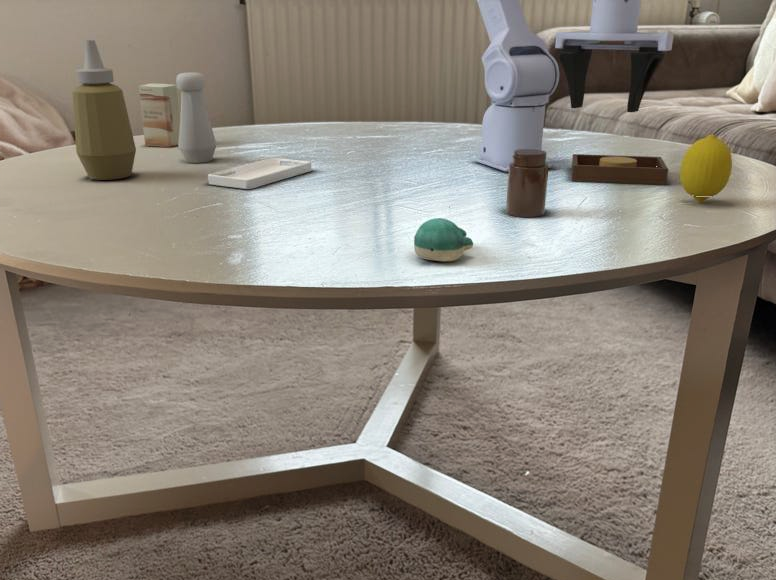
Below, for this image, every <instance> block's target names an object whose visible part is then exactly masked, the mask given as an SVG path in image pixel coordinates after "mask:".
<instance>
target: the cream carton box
mask: <svg viewBox="0 0 776 580" xmlns="http://www.w3.org/2000/svg"><path fill="white" fill-rule="evenodd" d="M138 91H139V101H140V109H141V119H142V129H143V130H142V131H143V135H144V136H143V138H144V145H145V146H147V147H148V146H149V147H159V148H161V147H162V148H171V147H174V146H178V143H179V130H180V112H179V111H180V110H179V101H178V100H179V99H178V88H177V84H170V83H152V82H151V83H146V84H140V85H138Z"/></svg>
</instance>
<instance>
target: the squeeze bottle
mask: <svg viewBox="0 0 776 580" xmlns="http://www.w3.org/2000/svg"><path fill="white" fill-rule="evenodd" d="M84 41H85V43H84V58H83V59H84V60H83V61H84V62H83V68H81V69H77V70H76V77H77V83H78V84H80V85H78V86H76V87H74V89H73V90H72V105H73V120H74V134H75V135H74V136H75V152H76V155H77V157H78V159H79V161H80V163H81V164H82V167H83V169H84V171H85V173H86V175H87V176H88V178H89V179H92V180H98V181H114V180H115V181H116V180H121V179H124V178H127V177H130V176H131V175H132V173H133V169H134V162H135V159H136V158H135V157H136V152H137V148H136V143H135V139H134V136H133V135H134V133H133V131H132V127H131V126H132V125H131V122H130V117H129V114H128V109H127V105H126V101H125V97H124V92H123V89H122V88H121V87H119V86H118V85H116V84H114V83H113V82H115V79H114V78H115V77H114V73H113V69H112V68H105V66H104V63H103V60H102V57H101V54H100V51H99V48H98V46H97V43H96V40H95V39H90V40H88V39H87V40H84Z"/></svg>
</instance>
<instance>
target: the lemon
mask: <svg viewBox="0 0 776 580" xmlns="http://www.w3.org/2000/svg"><path fill="white" fill-rule="evenodd" d="M732 158H733V157H732V154H731V150H730V147H729V146H728V145H727V144H726V143H725V142H724V141H723V140H721V139H719V138H718V137H717V136H716V135H715V134H708V135H707V136H706V137H704V138H701V139H698V140H696V141H695V142H693V143H692V144H691V145H690V146H689V148H688V149H687V150H686V152H685V154H684V157H683V159H682V161H681V165H680V171H679V179H680V184H681V186H682V188H683V190H684V191H685V193H686V194H688V195H689V194H690V195H689V196H691V197H693V198H694V200H695V201H696V203H699V204H702V203H704V202H705V201H706V200H708V199H709V198H711V197H696V196H712V197H715V196H716V195H718V194H719V193H721V192H722V191H723V190H724V189H725V188H726V186H727V185H728V182H729V180H730V178H731V173H732V168H733V159H732ZM692 195H694V196H692ZM714 195H715V196H714Z"/></svg>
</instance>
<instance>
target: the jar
mask: <svg viewBox="0 0 776 580" xmlns="http://www.w3.org/2000/svg"><path fill="white" fill-rule="evenodd" d="M512 158H513V162H512V163H510V164H509V172H508V174H507V187H506V188H507V189H506V190H507V191H506V202H505V203H506V205H505V213H506V214H507V215H510V216H514V217H519V218H537V217H541V216H544V214H545V211H546V203H547V192H548V181H549V180H548V179H549V170H550V168H549V165H548V164H546V163H547V151H546V150H542V149H541V150H536V149H520V150H515V151H514V154H513V155H512Z"/></svg>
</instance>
